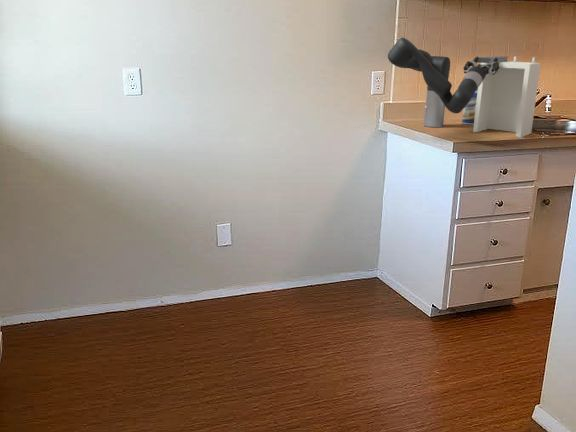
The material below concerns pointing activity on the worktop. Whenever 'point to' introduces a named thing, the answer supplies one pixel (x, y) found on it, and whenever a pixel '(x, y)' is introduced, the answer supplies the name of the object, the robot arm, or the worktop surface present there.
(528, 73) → the shelf
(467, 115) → the beverage bottle
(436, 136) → the worktop surface
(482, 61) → the bar
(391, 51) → the robot arm
